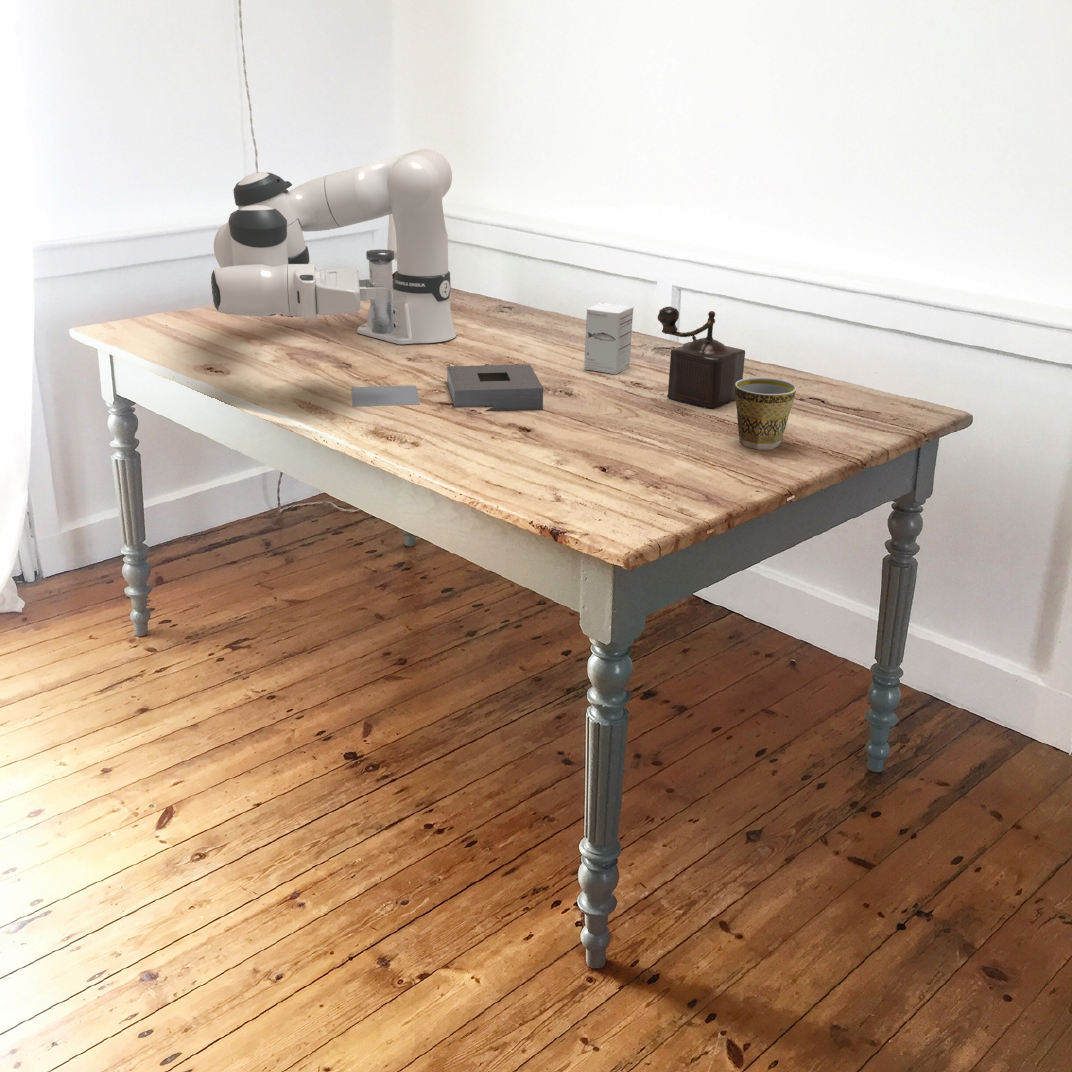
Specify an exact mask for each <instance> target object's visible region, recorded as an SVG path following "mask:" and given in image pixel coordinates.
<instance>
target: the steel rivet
mask: <svg viewBox="0 0 1072 1072" xmlns="http://www.w3.org/2000/svg"><path fill="white" fill-rule="evenodd" d="M365 256H366V258H365V259H366V260H367V261H368V268H369V269H368V271H369V273H368V274H369V278H368V279H370V288H371V287H376V286H381V287H382V286H384V287H386V289H387V297H386V298H377V299H372V300H369V302H370V303H369V304H370V305H369V307H371V332H372V333H376V334H389V333H392V332H394V318H393V279H392V274H393V260H395V259H394V251H391V250H388V249H369V250H366V252H365Z"/></svg>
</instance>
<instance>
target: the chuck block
mask: <svg viewBox="0 0 1072 1072" xmlns="http://www.w3.org/2000/svg"><path fill="white" fill-rule="evenodd" d="M446 384H447V386H448V390H449V392H450V396H451V399H452V402H453V407H454V408H465V407H468V408H470V407H471V408H472V407H491V408H488V409H485V412H504V411H505V412H507V411H508V412H509V411H533V410H534V411H536V410H537V411H541V410H543V409H544V387H543V385H542V384H541V382H540V379H539V378H538V376H537V373H535V370H534V369H533V366H532V365H531V364H530V363H529V364H528V363H526V364H493V365H492V364H490V365H487V364H484V365H483V364H482V365H449V366H448V365H447V366H446Z"/></svg>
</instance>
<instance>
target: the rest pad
mask: <svg viewBox="0 0 1072 1072" xmlns="http://www.w3.org/2000/svg"><path fill="white" fill-rule="evenodd" d="M419 397H420V396H419V391H418V387H417V385H386V386H384V385H382V386H381V385H380V386H378V385H377V386H352V387H351V398H352V401H351V403H352V408H353V407H354V408H357V407H359V408H360V407H384V406H386V407H387V406H388V407H389V406H391V407H392V406H420V405H421V403H420V398H419Z"/></svg>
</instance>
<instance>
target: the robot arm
mask: <svg viewBox="0 0 1072 1072" xmlns="http://www.w3.org/2000/svg"><path fill="white" fill-rule="evenodd" d="M452 182H453V171H452V167H451V164H450V162H449V161H448V160H447V158H446V157H444V155H442V154H441V153H439V152H437V151H436V150H432V149H418V150H415V151H412V152H407V153H405V154H399V155H398V156H397V155H396V156H393V157H390V158H386V159H382V160H379V161H375V162H371V163H368V164H365V165H361V166H358V167H352V168H349V169H346V170H342V171H338V172H334V173H330V174H326V175H323V176H320V177H317V178H314V179H311V180H309V181H305V182H304V183H302V184H299V185H298V186H296V187H294V188H292V189H291V190H289V189H288V188H291V187H292V186H293V184H292V183H291V182H290V181H288V180H287V181H286V180H284V179H283V178H282V177H281V176H279V175H277V174H275V173H272V172H254V173H251V174H248V175H246V176H245V177H243V178H242V179H241V180H240V181H238V182H237V183H236V185H235V186H234V187H233V191H232V192H233V197H234V203H235V206H236V207H238V209H237V210H235V211H232V212H231V213H230V215H229V217H228V221H227V222H226V223H224V224H223V225H221V227H220V228H219V229H218V230H217V232H216V234H215V236H214V240H213V253H214V257H215V259H216V262H217V264H218V266H219V267H218V268H217V267H216V268H214V269H213V270H212V271H211V272H212V273H211V276H210V283H211V284H210V285H211V295H212V301H213V306H214V307H215V308H214V309H216V310H217V312H218V313H220V314H225V315H234V316H240V317H241V316H243V317H270V316H275V315H277V314H278V315H279V314H280V315H284V316H290V317H292V316H294V317H297V316H299V317H302V318H304V319H306V320H307V319H310V320H311V319H313V320H314V319H316V318H317V317H318V315H319V316H327V315H328V316H332V315H345V314H352V313H356V312H360V310H361V301H362V302H365V301H366V302H367V301H370V300H372V299H377V298H386V297H387V289H386V287H384V286H382V287H381V286H376V287H371V288H370V278H367V277H360V273H359V269H356V268H330V269H321V270H319V271H317V270H316V264H315V263H310V253H309V248H308V246H307V245H306V241H305V237H304V234H303V233H305V232H322V231H329V230H335V229H340V228H344V227H348V226H353V225H356V224H360V223H364V222H368V221H372V220H373V221H374V220H377V219H380V218H382V217H386V216H389V214H392V215H393V220H394V225H395V231H396V246H397V261H396V264H397V265H396V269H397V270H396V271H394V272H392V280H393V318H394V332H392V333H389V334H376V333H372V332H371V307H370V306H369V308H368V311H367V321H366V323H364V324H361V325H359V326H358V327H357V331H356V333H357V334H360V335H363V336H367V337H370V338H374V339H378V340H381V341H384V342H385V341H386V342H389V343H393V344H397V345H409V344H433V343H434V344H435V343H442V342H447V341H450V340H452V339H454V338H455V337H457V332H456V329H455V326H454V322H453V315H452V309H451V302H450V301H451V300H450V299H451V298H450V296H451V287H452V286H451V272H450V271H449V238H448V236H449V235H448V232H447V227H446V223H445V214H444V209H443V206H444V205H443V198H444V197H445V196H446V195H447V193H448V192H449V190H450V189H451V186H452Z"/></svg>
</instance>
